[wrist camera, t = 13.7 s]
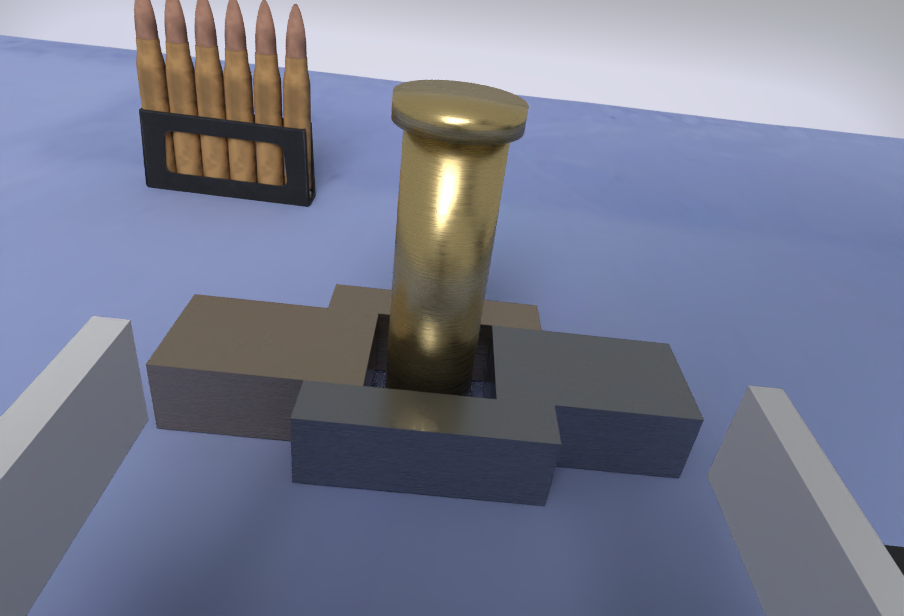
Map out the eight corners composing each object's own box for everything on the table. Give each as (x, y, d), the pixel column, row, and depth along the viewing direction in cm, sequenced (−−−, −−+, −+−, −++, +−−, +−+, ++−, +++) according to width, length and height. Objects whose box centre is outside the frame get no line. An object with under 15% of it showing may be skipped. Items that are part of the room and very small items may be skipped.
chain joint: (639, 370, 31) (657, 318, 29) (694, 519, 23) (722, 459, 22) (216, 327, 30) (210, 270, 28) (133, 467, 23) (119, 401, 21)
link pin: (474, 385, 29) (523, 89, 22) (475, 453, 25) (534, 124, 18) (379, 375, 28) (399, 74, 22) (366, 443, 25) (386, 107, 18)
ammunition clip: (145, 187, 42) (115, -17, 36) (158, 177, 44) (131, -20, 37) (309, 207, 42) (308, 8, 36) (315, 196, 44) (315, 4, 38)
